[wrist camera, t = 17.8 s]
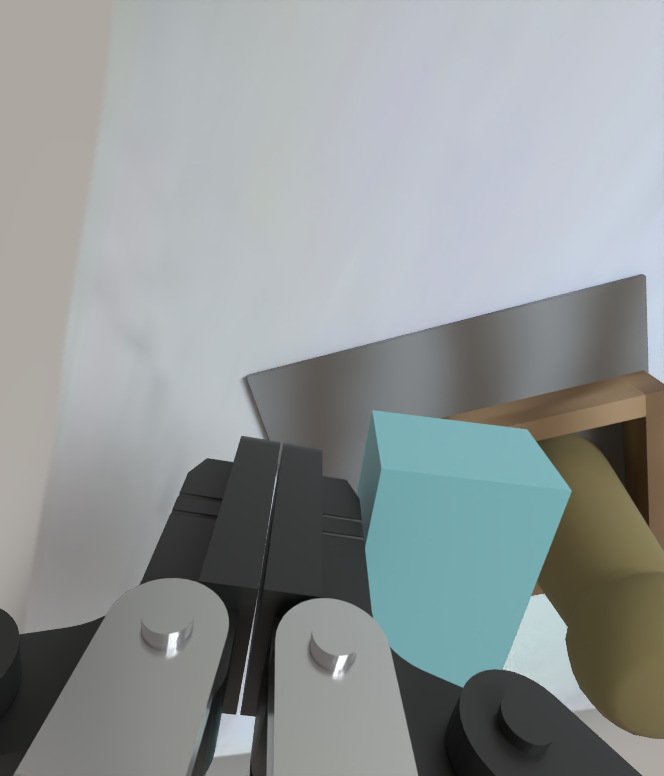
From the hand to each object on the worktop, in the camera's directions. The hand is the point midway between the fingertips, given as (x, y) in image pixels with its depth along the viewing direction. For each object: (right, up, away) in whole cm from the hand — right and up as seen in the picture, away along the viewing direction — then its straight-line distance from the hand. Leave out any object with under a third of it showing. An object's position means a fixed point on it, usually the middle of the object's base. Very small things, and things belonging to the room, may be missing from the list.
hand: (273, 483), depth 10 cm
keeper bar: (+2, -5, +3) cm, 7 cm away
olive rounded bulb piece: (+11, -3, +15) cm, 19 cm away
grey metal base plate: (+7, -2, +15) cm, 17 cm away
